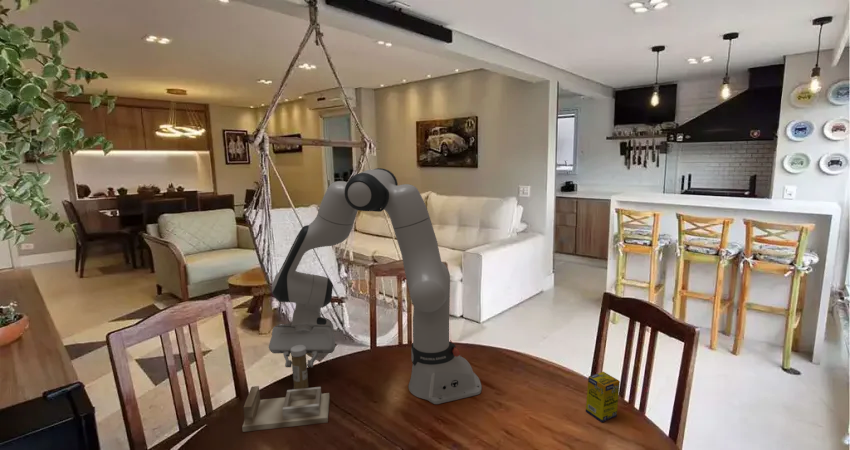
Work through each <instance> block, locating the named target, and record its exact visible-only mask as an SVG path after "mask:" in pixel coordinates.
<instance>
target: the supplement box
mask: <svg viewBox="0 0 850 450" xmlns="http://www.w3.org/2000/svg"><path fill="white" fill-rule="evenodd" d="M587 377H588V379H587V389H586V390H587V391H586V404H585V405H586V406H585V412H586V413H587V414H589V415H590V416H592V417H593V418H594V419H596V420H597V421H599V422H600V423H604V422H606V421H608V420H610V419H613V418H617V416H618V407H619V395H620V392H619V391H620V385H621V384H620V383H621V381H620V380H619V379H617V378H616V377H613V376H612V375H610V374H608V373H607V372H605V371H601V372H599V373H595V374H592V375H589V376H587Z"/></svg>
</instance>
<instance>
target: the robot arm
mask: <svg viewBox="0 0 850 450" xmlns="http://www.w3.org/2000/svg"><path fill="white" fill-rule="evenodd" d="M359 211H361V212H383V211H385V212H386V213H387V215H388V216H389V218H390V222H391V225H392V229H393V232H394V235H395V238H396V241H397V244H398V247H399V251H400V254H401V258H402V259H401V260H402V263H403V264H402V265H403V269H404V273H405V277H406V283H407V287H408V292H409V296H410V301H411V303H412V305H413V309H412V310H413V312H412V343H411V362H412V363H411V364H412V365H411V366H412V368H411V374H410V380H409V383H408V386H407V387H408V390H409V392H410V393H411V394H412V395H413V396H414V397H417V398H419V399H423V400H425V401H429V402H430V403H431V404H434V405H441V404H443V403H448V402H452V401H453V402H454V401H457V400H461V399H465V398H470V397H474V396H478V395H480V394H481V393H482V391H483V390H482V382H481V380H480V378H479V377H478V375H477V374H476V373H475V372H474V371H473V367H472V365H471V364H470V362H469V361H468V360H467V359H466V358H465V357H462V355H461V351H460V349H458V348H457V347H456V344H455V343H454V342H453V341H452V340H451V339H450V307H451V306H450V305H451V302H450V301H451V299H450V297H451V294H450V293H451V275H450V271H449V269H448V266H447V265H446V264H445V263H444V262H443V261H442V259H441V253H440V249H439V243H438V240H437V237H436V233H435V230H434V226H433V224H432V220H431V217H430V214H429V209H428V208H427V206H426V204H425V201H424V199H423V196H422V194H421V193H420V191H419V189H418V188H417V186H415V185H413V184H408V183H404V184H399V185H398V179H397V177H396V175H394V173H393V172H392V171H390V170H389V169H385V168H379V167H378V168H374V169H367V170H363V171H361V172H359V173H356V174H354V175H353V176H352V177H350V178H349V180H347V181H344V180H337V181H334V182H332V183H330V184H329V186H328V187H327V189H326V191H325V193H324V195H323V197H322V200H321V202H320V206H319V208H318V212H317V215H316V217H315V218H314V219H313V221H312V222H311V223H309V224H307V225H304V226H302V228H301V229H300V231H299V232H298V234H297V235H296V237H295V239H294V241H293V243H292V246H291V247H290V249H289V251H288V254H287V256H286V258H285V259H284V261H283V264H282V266H281V267H280V270H278V272H277V274H276V276H274V279H273V281H272V285H271V294H272V295H273V297H274V299H276V300H277V301H278V302H281V303H294V304H295V307H294V308H295V309H294V311H293V313H292V317H291V323H278V324H276V325H275V326H273V328H272V331H271V338H270V340H269V344H268V350H269V351H270V352H271V353H272V354H282V355H283V357H284V360H285V364H284V365H285V366H284V367H285V368H292V359H291V360H290V359H289V357H290V356H291V348H292V347H293V346H296V345H304V346H305V347H306V354H312V357H311V359H308V360H307V362H306V363H307V368H314V363H315V361H316V360H317V359H318V357H319V354H332V353H333V352H335V349H336V335H335V334H334V332H333V331H334V327H335V326H334V324H333V322H332V321H331V319H329V318H328V317H323V316H321V315H322V314H321V309H322V308H324V307H326V306H327V305H328V304H330V303H331V301H332V300H333V299H332V297H333V288H334V284H333V282H332V281H331V279H330V278H329V277H327V276H323V275H318V274H311V273H307V272H306V273H304V272H300V271H297V269H298V266H299V265H300V263H301V261H302V258H303V257H304V255H305V253H307V252H308V251H310V250H314V249H319V248H324V247H331V246H332V247H333V246H336V245H339V244H341V243H342V242H344V241H345V240H347V239H348V238H349V236H350V234H351V232H352V229H353V228H354V227H353V226H354V223H355V221H356V217H357V213H358V212H359Z"/></svg>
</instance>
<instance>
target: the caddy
mask: <svg viewBox="0 0 850 450" xmlns="http://www.w3.org/2000/svg"><path fill="white" fill-rule="evenodd" d="M260 393H261V392H260V386H259V385H256V386H255V385H253V386H251V388H250V389H249V392H248V395H247V397H246V400H245V402H244V406H243V415H244V420H243V424H242V427H241V428H242V433H243V432H245V433H246V432H252V431H253V432H254V431H262V430H271V429H272V430H273V429H281V428H288V427H289V428H290V427H297V426H298V427H299V426H307V425H308V426H309V425H317V424H325V423H327V424H328V423H329V422H328V421H329V409H330V397H331V396H330V392H326V393H325V392H324V393H322V387H321V386H315V387H308V388H303V389H294V388H292V389H287V390H286V395H285V397H275V398H274V397H273V398H265V399H264V398H263V399H261V394H260Z"/></svg>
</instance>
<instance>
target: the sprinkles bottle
mask: <svg viewBox="0 0 850 450" xmlns="http://www.w3.org/2000/svg"><path fill="white" fill-rule="evenodd" d="M290 356H291V361H292V364H291V365H292V366H291V368H292V379H293V389H303V388H309V379H308V367H307V363H308V362H307V353H306V347H305V346H304V345H296V346H293V347H292V348H291V353H290Z"/></svg>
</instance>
